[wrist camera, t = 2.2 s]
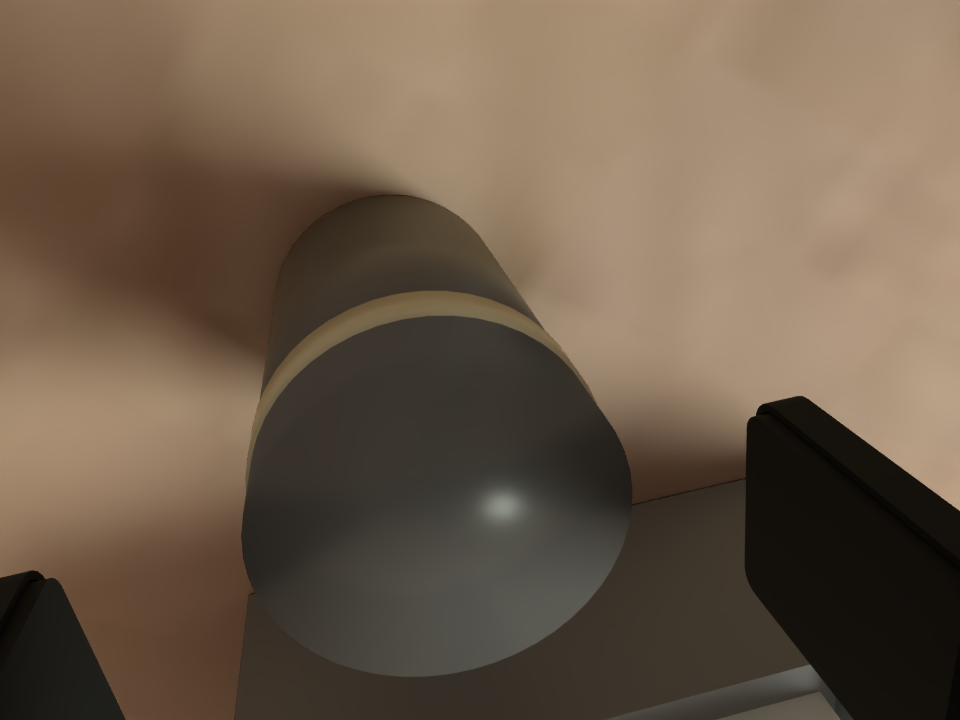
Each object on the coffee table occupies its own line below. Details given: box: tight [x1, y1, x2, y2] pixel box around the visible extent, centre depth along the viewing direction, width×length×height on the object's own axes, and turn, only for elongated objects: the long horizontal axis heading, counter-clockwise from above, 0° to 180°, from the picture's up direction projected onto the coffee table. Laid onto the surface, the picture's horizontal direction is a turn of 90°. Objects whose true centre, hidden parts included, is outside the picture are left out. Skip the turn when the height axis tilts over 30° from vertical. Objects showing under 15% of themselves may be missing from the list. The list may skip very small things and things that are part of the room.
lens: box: [241, 195, 632, 677], centre depth 13 cm, size 5×5×8 cm
